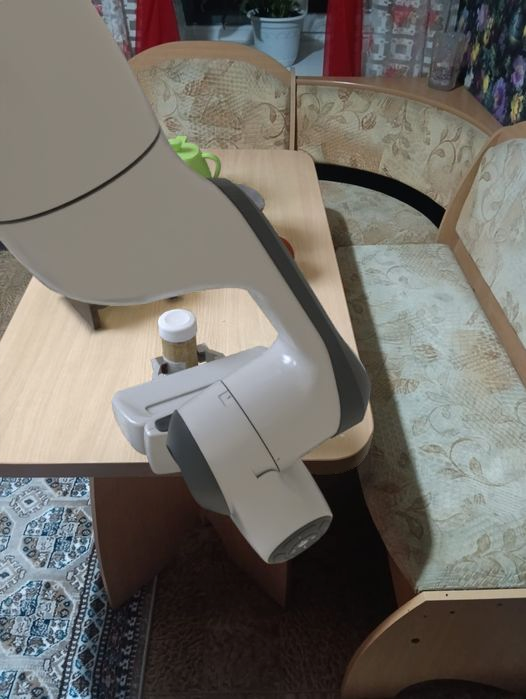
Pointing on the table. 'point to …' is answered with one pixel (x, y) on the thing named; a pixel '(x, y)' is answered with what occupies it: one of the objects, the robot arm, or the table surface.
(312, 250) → the table surface
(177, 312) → the sprinkles bottle
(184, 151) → the teapot
